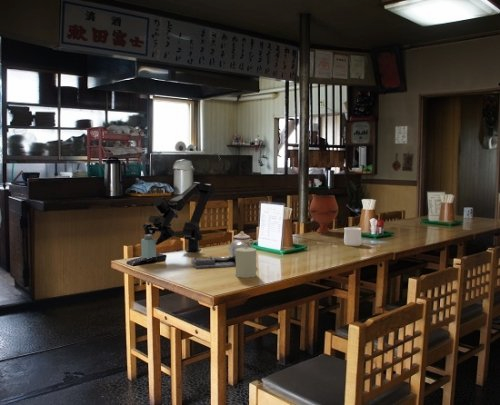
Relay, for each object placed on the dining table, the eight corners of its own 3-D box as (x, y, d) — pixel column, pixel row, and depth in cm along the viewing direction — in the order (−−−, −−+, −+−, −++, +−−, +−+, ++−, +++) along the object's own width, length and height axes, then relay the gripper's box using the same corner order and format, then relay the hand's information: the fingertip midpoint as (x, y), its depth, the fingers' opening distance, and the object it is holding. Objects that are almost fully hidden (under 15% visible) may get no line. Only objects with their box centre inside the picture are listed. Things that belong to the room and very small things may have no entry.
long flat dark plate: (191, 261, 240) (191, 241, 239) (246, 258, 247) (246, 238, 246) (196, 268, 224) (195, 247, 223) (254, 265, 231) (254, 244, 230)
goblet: (343, 232, 328) (344, 195, 326) (321, 235, 318) (322, 197, 316) (325, 228, 344) (325, 193, 342) (303, 231, 334) (304, 195, 332)
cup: (362, 246, 280) (363, 229, 279) (345, 246, 280) (345, 229, 279) (359, 243, 289) (359, 227, 288) (342, 243, 290) (343, 227, 289)
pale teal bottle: (149, 259, 244) (148, 233, 243) (156, 260, 241) (155, 234, 240) (141, 261, 240) (141, 235, 239) (148, 262, 237) (147, 236, 236)
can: (255, 272, 217) (255, 246, 216) (256, 277, 208) (256, 250, 207) (235, 272, 217) (235, 246, 216) (235, 278, 208) (235, 250, 207)
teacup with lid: (239, 255, 253) (239, 233, 252) (230, 252, 261) (230, 231, 259) (258, 253, 260) (258, 231, 259) (248, 250, 267) (248, 229, 266)
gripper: (145, 208, 249) (128, 231, 241) (170, 210, 238) (153, 235, 230) (156, 221, 256) (140, 245, 248) (182, 224, 245) (166, 249, 237)
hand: (149, 243), depth 240 cm, fingers open, 9 cm apart
